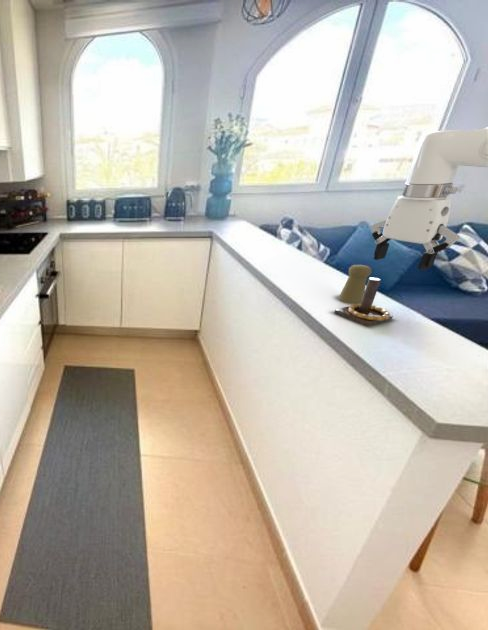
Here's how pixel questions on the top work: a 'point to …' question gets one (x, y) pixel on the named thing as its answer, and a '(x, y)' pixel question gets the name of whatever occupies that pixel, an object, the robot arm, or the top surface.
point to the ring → (368, 317)
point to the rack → (365, 305)
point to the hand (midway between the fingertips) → (400, 263)
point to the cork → (355, 284)
